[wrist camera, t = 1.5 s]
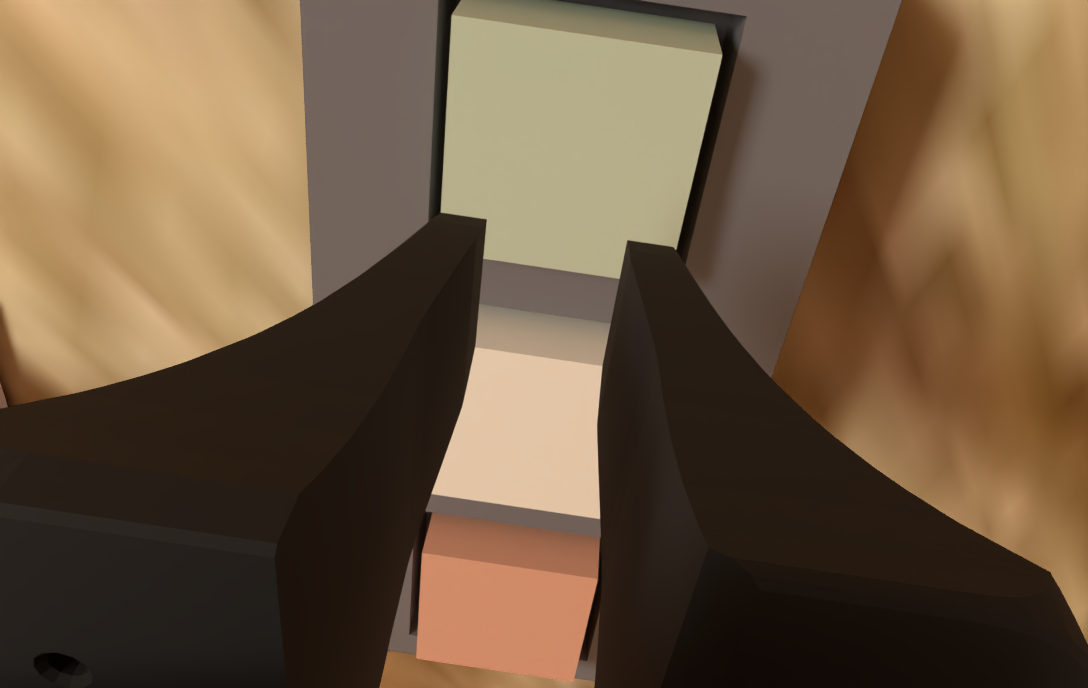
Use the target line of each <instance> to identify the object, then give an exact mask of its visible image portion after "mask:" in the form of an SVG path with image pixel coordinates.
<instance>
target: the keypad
mask: <svg viewBox="0 0 1088 688" xmlns="http://www.w3.org/2000/svg"><path fill="white" fill-rule="evenodd" d="M460 1H461V0H300V11H301V34H302V57H303V81H304V104H305V127H306V150H307V173H308V196H309V219H310V242H311V265H312V288H313V305H314V304H316V303H318V302H319V301H321V300H323V299H324V298H326V297H327V296H329V295H330V294H332V293H333V292H335V291H337V290H338V289H340V288H341V287H343V286H344V285H346V284H347V283H349V282H350V281H352V280H354V279H355V278H357V277H358V276H359V275H361V274H362V273H364V272H365V271H366V270H368V269H369V268H370V267H372V266H373V265H374V264H376V263H377V262H378V261H380V260H381V259H382V258H384V257H385V256H386V255H388V254H389V253H390V252H392V251H393V250H394V249H395V248H397V247H398V246H399V245H400V244H402V243H403V242H404V241H405V240H407V239H408V238H409V237H410V236H412V235H413V234H414V233H415V232H417V231H418V230H419V229H420V228H421V227H423V226H424V225H425V224H426V223H428V222H429V221H430V220H432V219H433V218H434V217H436V216H437V215H439V214H440V213H441V198H442V180H443V162H444V144H445V126H446V108H447V90H448V71H449V53H450V35H451V17H452V14H453V12H454V10H455V9H456V7H457V6H458V4H459V3H460ZM556 1H563V2H570V3H577V4H584V5H590V6H597V7H604V8H611V9H618V10H624V11H631V12H638V13H645V14H651V15H658V16H665V17H672V18H679V19H685V20H692V21H699V22H706V23H713V24H715V28H716V31H717V35H718V39H719V43H720V47H721V51H722V54H723V55H722V60H721V64H720V68H719V72H718V76H717V81H716V85H715V89H714V93H713V97H712V102H711V106H710V110H709V114H708V118H707V123H706V127H705V131H704V135H703V139H702V144H701V148H700V152H699V156H698V160H697V165H696V169H695V173H694V177H693V181H692V186H691V190H690V194H689V198H688V202H687V207H686V211H685V215H684V219H683V223H682V228H681V232H680V236H679V240H678V244H677V249H676V251H677V253H678V254H679V256H680V257H681V259H682V260H683V262H684V263H685V265H686V267H687V268H688V270H689V271H690V273H691V274H692V276H693V278H694V279H695V281H696V282H697V284H698V285H699V287H700V288H701V290H702V291H703V293H704V294H705V296H706V297H707V299H708V300H709V302H710V303H711V305H712V306H713V308H714V309H715V310H716V312H717V313H718V315H719V316H720V317H721V319H722V320H723V321H724V323H725V324H726V325H727V327H728V328H729V329H730V331H731V332H732V333H733V335H734V336H735V337H736V338H737V340H738V341H739V342H740V343H741V345H742V346H743V347H744V348H745V349H746V350H747V352H748V353H749V354H750V355H751V356H752V357H753V358H754V360H755V361H756V362H757V363H758V364H759V365H760V367H761V368H762V369H763V370H764V371H765V372H766V373H767V374H768V375H769V377H770V378H772V375H773V372H774V369H775V367H776V364H777V361H778V358H779V355H780V352H781V349H782V346H783V343H784V341H785V338H786V335H787V332H788V329H789V326H790V323H791V320H792V317H793V314H794V312H795V309H796V306H797V303H798V300H799V297H800V294H801V291H802V288H803V285H804V283H805V280H806V277H807V274H808V271H809V268H810V265H811V262H812V259H813V257H814V254H815V251H816V248H817V245H818V242H819V239H820V236H821V233H822V230H823V228H824V225H825V222H826V219H827V216H828V213H829V210H830V207H831V204H832V202H833V199H834V196H835V193H836V190H837V187H838V184H839V181H840V178H841V175H842V173H843V170H844V167H845V164H846V161H847V158H848V155H849V152H850V149H851V146H852V144H853V141H854V138H855V135H856V132H857V129H858V126H859V123H860V120H861V118H862V115H863V112H864V109H865V106H866V103H867V100H868V97H869V94H870V91H871V89H872V86H873V83H874V80H875V77H876V74H877V71H878V68H879V65H880V63H881V60H882V57H883V54H884V51H885V48H886V45H887V42H888V39H889V36H890V34H891V31H892V28H893V25H894V22H895V19H896V16H897V13H898V10H899V7H900V5H901V2H902V0H556ZM618 284H619V279H618V278H611V277H604V276H597V275H590V274H584V273H577V272H570V271H563V270H557V269H550V268H543V267H536V266H530V265H523V264H516V263H509V262H503V261H496V260H489V259H483V268H482V279H481V290H480V301H479V304H483V305H490V306H497V307H503V308H510V309H517V310H524V311H530V312H537V313H544V314H551V315H558V316H564V317H571V318H578V319H585V320H591V321H598V322H605V323H611V320H612V314H613V309H614V304H615V299H616V294H617V289H618ZM432 513H440V514H446V515H453V516H460V517H466V518H473V519H480V520H487V521H493V522H500V523H507V524H514V525H520V526H527V527H534V528H541V529H547V530H554V531H561V532H567V533H574V534H581V535H588V536H594V537H600V544H599V566H598V581H597V585H596V589H595V593H594V598H593V602H592V606H591V610H590V614H589V619H588V623H587V627H586V631H585V635H584V640H583V644H582V648H581V652H580V656H579V661H578V665H577V669H576V673H575V677H574V678H577V679H584V680H591V681H595V674H596V661H597V647H598V633H599V619H600V605H601V580H602V556H601V528H600V519H596V518H590V517H583V516H576V515H569V514H563V513H556V512H549V511H542V510H536V509H529V508H522V507H515V506H509V505H502V504H495V503H488V502H482V501H475V500H468V499H462V498H455V497H448V496H441V495H435V494H431V497H430V499H429V502H428V505H427V508H426V511H425V513H424V516H423V519H422V522H421V525H420V527H419V530H418V533H417V536H416V540H415V543H414V546H413V549H412V553H411V556H410V559H409V563H408V567H407V571H406V575H405V579H404V583H403V588H402V592H401V596H400V600H399V604H398V609H397V613H396V617H395V621H394V625H393V630H392V634H391V638H390V643H389V647H388V650H389V651H396V652H402V653H409V654H416V652H417V634H418V616H419V598H420V580H421V562H422V551H423V547H424V543H425V539H426V536H427V532H428V528H429V524H430V520H431V516H432Z"/></svg>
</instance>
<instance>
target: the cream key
mask: <svg viewBox="0 0 1088 688" xmlns="http://www.w3.org/2000/svg"><path fill="white" fill-rule="evenodd" d="M610 325H611V323H605V322H598V321H591V320H585V319H578V318H571V317H564V316H558V315H551V314H544V313H537V312H530V311H524V310H517V309H510V308H503V307H497V306H490V305H483V304H479V312H478V323H477V334H476V345H475V350H474V355H473V360H472V364H471V369H470V374H469V379H468V383H467V388H466V392H465V397H464V401H463V406H462V409H461V412H460V414H459V417H458V420H457V423H456V426H455V429H454V432H453V435H452V437H451V440H450V443H449V446H448V449H447V452H446V454H445V457H444V460H443V463H442V466H441V468H440V471H439V474H438V477H437V480H436V482H435V485H434V488H433V491H432V494H435V495H441V496H448V497H455V498H462V499H468V500H475V501H482V502H488V503H495V504H502V505H509V506H515V507H522V508H529V509H536V510H542V511H549V512H556V513H563V514H569V515H576V516H583V517H590V518H596V519H600V501H599V474H598V444H597V419H598V408H599V397H600V386H601V376H602V365H603V360H604V355H605V350H606V345H607V340H608V335H609V330H610Z"/></svg>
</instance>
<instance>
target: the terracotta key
mask: <svg viewBox="0 0 1088 688" xmlns="http://www.w3.org/2000/svg"><path fill="white" fill-rule="evenodd" d="M599 544H600V537H594V536H588V535H581V534H574V533H567V532H561V531H554V530H547V529H541V528H534V527H527V526H520V525H514V524H507V523H500V522H493V521H487V520H480V519H473V518H466V517H460V516H453V515H446V514H440V513H432V516H431V520H430V524H429V528H428V532H427V536H426V539H425V543H424V547H423V551H422V562H421V580H420V598H419V616H418V634H417V652H416V659H422V660H429V661H435V662H442V663H449V664H456V665H462V666H469V667H476V668H482V669H489V670H496V671H503V672H509V673H516V674H523V675H529V676H536V677H543V678H550V679H556V680H563V681H570V682H574V677H575V673H576V669H577V665H578V661H579V656H580V652H581V648H582V644H583V640H584V635H585V631H586V627H587V623H588V619H589V614H590V610H591V606H592V602H593V598H594V593H595V589H596V585H597V581H598V566H599Z"/></svg>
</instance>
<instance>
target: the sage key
mask: <svg viewBox="0 0 1088 688" xmlns="http://www.w3.org/2000/svg"><path fill="white" fill-rule="evenodd" d="M722 55H723V54H722V51H721V47H720V43H719V39H718V35H717V31H716V28H715V24H713V23H706V22H699V21H692V20H685V19H679V18H672V17H665V16H658V15H651V14H645V13H638V12H631V11H624V10H618V9H611V8H604V7H597V6H590V5H584V4H577V3H570V2H563V1H556V0H461V1H460V3H459V4H458V6H457V7H456V9H455V10H454V12H453V14H452V17H451V35H450V53H449V71H448V90H447V108H446V126H445V144H444V162H443V180H442V198H441V213H447V214H454V215H461V216H468V217H475V218H481V219H487V223H486V234H485V245H484V256H483V259H489V260H496V261H503V262H509V263H516V264H523V265H530V266H536V267H543V268H550V269H557V270H563V271H570V272H577V273H584V274H590V275H597V276H604V277H611V278H618V279H620V274H621V269H622V264H623V259H624V254H625V249H626V244H627V240H630V241H637V242H644V243H650V244H657V245H664V246H671V247H674V248H675V250H676V249H677V244H678V240H679V236H680V232H681V228H682V223H683V219H684V215H685V211H686V207H687V202H688V198H689V194H690V190H691V186H692V181H693V177H694V173H695V169H696V165H697V160H698V156H699V152H700V148H701V144H702V139H703V135H704V131H705V127H706V123H707V118H708V114H709V110H710V106H711V102H712V97H713V93H714V89H715V85H716V81H717V76H718V72H719V68H720V64H721V60H722Z"/></svg>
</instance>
